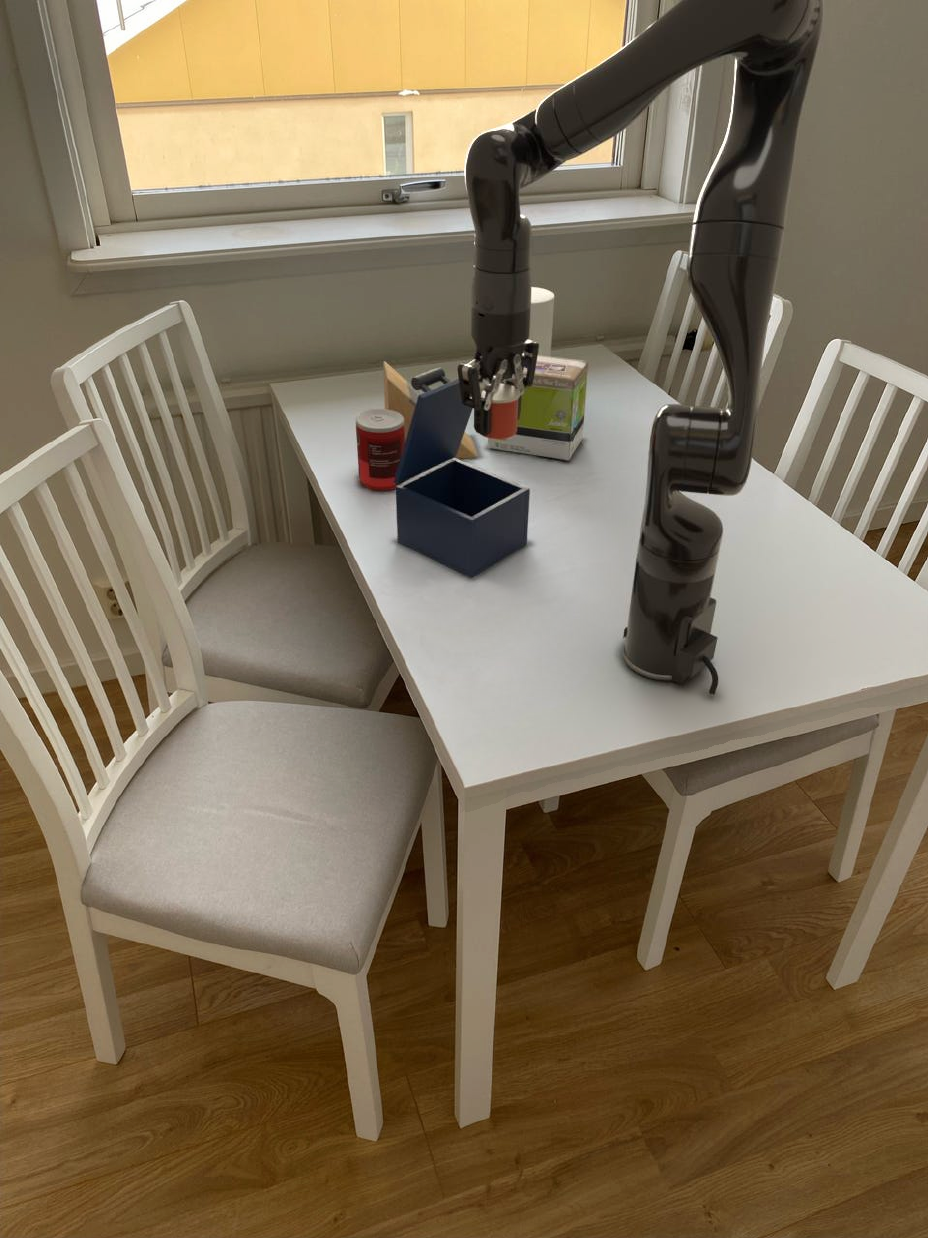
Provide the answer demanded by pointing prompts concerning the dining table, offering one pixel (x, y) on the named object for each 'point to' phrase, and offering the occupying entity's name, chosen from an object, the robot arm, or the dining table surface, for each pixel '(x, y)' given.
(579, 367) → the tea box
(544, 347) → the container
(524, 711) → the dining table surface
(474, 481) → the navy blue open box
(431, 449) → the cool box lid
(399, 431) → the canned food
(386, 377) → the sandwich container
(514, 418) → the plastic tub
